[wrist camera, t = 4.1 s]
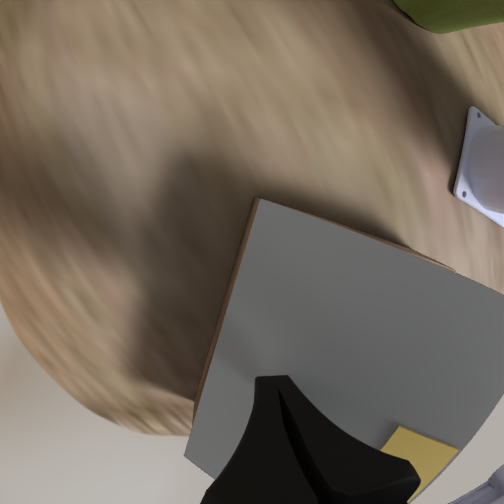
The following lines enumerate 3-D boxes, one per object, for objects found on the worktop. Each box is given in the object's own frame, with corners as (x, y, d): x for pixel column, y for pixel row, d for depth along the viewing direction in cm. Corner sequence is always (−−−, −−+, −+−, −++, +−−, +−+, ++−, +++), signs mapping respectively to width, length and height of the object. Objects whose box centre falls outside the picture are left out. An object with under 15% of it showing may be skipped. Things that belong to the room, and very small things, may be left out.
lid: (538, 312, 7) (545, 316, 6) (350, 543, 10) (346, 551, 10) (267, 200, 13) (259, 198, 12) (189, 451, 16) (182, 456, 16)
